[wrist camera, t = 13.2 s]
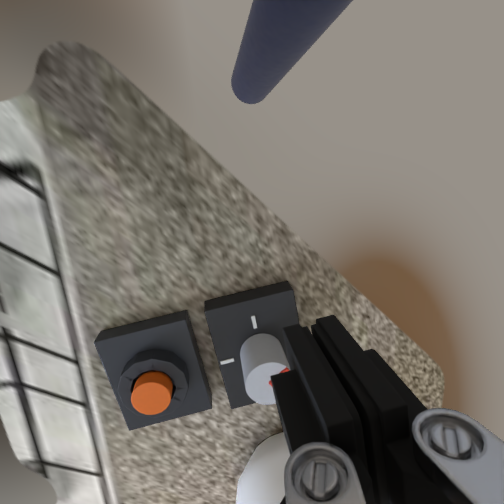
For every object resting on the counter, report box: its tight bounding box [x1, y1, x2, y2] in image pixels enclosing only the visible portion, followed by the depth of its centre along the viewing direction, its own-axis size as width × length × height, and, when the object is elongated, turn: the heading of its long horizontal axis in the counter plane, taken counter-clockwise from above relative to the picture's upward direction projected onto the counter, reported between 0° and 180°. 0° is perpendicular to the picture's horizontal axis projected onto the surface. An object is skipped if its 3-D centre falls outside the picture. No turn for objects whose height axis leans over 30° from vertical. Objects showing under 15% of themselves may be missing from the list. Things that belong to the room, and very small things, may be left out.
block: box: [94, 310, 212, 430], centre depth 33 cm, size 11×9×4 cm
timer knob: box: [240, 333, 290, 405], centre depth 31 cm, size 4×4×5 cm
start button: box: [131, 371, 173, 415], centre depth 31 cm, size 4×4×2 cm
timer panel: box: [204, 281, 299, 409], centre depth 35 cm, size 12×9×3 cm
